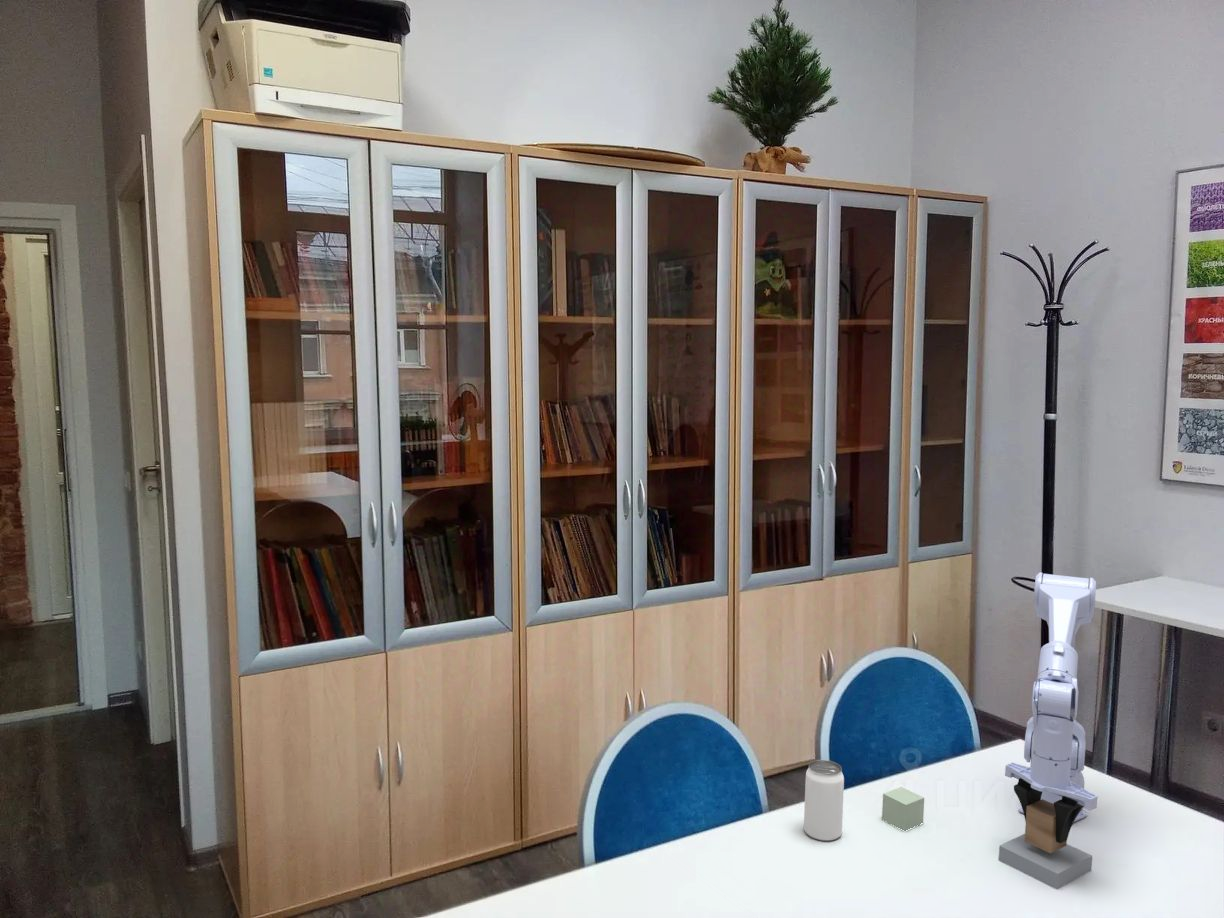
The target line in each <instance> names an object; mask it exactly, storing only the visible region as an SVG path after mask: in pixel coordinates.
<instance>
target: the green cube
mask: <svg viewBox="0 0 1224 918" xmlns="http://www.w3.org/2000/svg"><path fill="white" fill-rule="evenodd" d="M881 809H882V811H881V820H882V821H883V820H884V821H883V822H885V821H887V822H888V823H887V822H886V823H887V824H889V823H890V824H889V825H891V824H892V825H891V826H893V825H894V826H893V827H895V826H896V827H898V828H900V829H902V830H904V831H906V830H908V829H910V828H913V827H914V826H917V825H920V824H921V823H923V824H924V814H925V813H924V811H925V797H924V796H921V795H919V794H917V793H916V792H913V791H910V790H909V789H907V788H904V787H902V786H900V787H897V788H895V789H892V790H890V791H887V792H884V793H882V807H881ZM920 826H921V825H920ZM896 827H895V828H896ZM898 828H897V829H898ZM900 829H899V830H900ZM913 829H914V828H913ZM902 830H901V831H902ZM910 830H911V829H910ZM904 831H903V832H904ZM908 831H909V830H908ZM906 832H907V831H906Z"/></svg>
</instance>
